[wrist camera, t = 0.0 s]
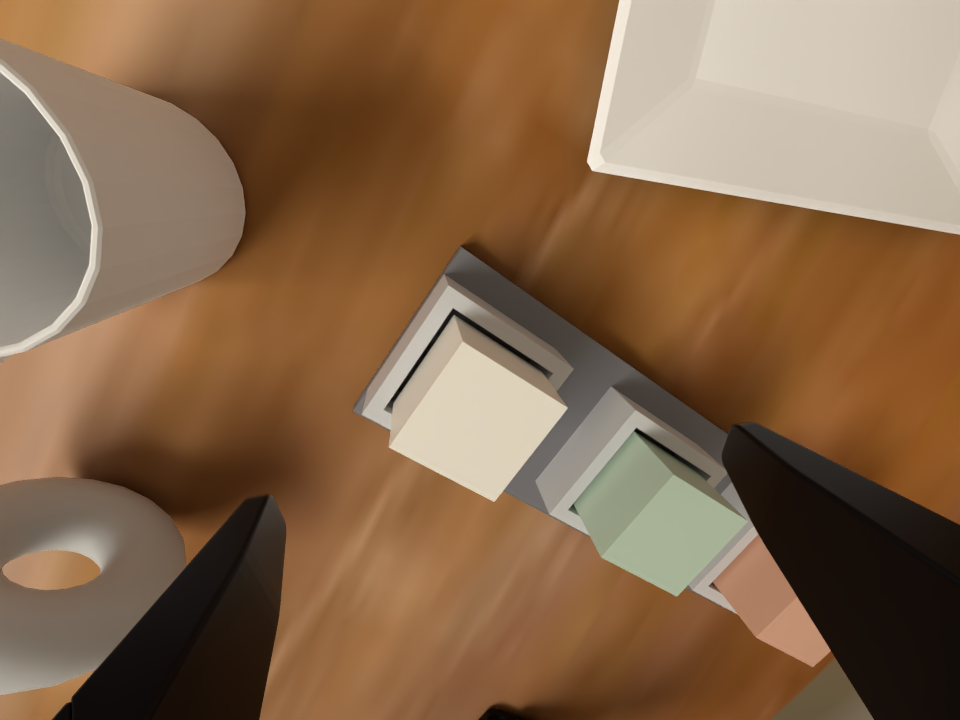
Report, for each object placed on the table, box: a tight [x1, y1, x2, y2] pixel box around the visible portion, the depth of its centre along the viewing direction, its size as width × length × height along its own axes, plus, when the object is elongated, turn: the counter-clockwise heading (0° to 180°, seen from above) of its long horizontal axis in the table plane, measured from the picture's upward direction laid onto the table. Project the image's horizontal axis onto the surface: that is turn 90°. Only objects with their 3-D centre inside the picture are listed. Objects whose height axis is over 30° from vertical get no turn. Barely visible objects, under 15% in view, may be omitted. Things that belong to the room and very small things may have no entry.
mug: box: [0, 38, 246, 363], centre depth 16 cm, size 12×8×10 cm, turn 140°
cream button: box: [389, 315, 568, 502], centre depth 20 cm, size 5×5×4 cm
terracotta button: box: [713, 535, 831, 667], centre depth 26 cm, size 5×5×4 cm
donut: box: [0, 477, 186, 695], centre depth 20 cm, size 10×4×10 cm, turn 59°
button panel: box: [353, 246, 758, 614], centre depth 26 cm, size 10×29×4 cm, turn 55°
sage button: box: [573, 431, 748, 596], centre depth 23 cm, size 5×5×4 cm
